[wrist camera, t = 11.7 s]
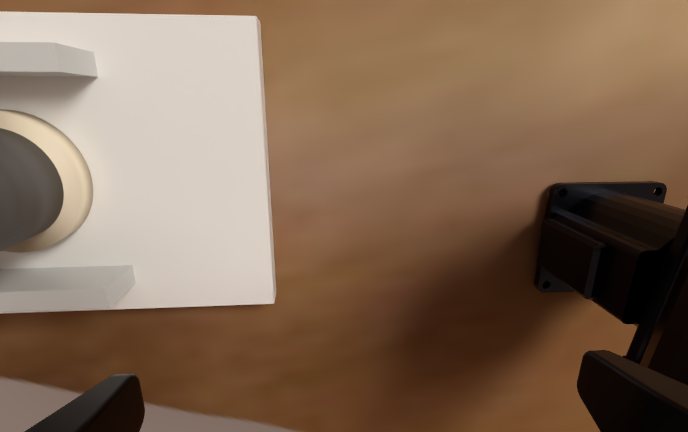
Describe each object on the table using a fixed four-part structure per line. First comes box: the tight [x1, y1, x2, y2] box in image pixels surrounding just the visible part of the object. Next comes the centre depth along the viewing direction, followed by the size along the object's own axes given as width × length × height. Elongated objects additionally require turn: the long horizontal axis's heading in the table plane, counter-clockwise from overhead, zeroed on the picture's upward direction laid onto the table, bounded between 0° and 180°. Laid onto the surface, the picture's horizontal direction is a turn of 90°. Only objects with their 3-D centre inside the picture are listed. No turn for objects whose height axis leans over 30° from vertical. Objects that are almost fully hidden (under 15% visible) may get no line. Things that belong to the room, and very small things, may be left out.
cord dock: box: [0, 12, 276, 314], centre depth 17 cm, size 17×14×4 cm
